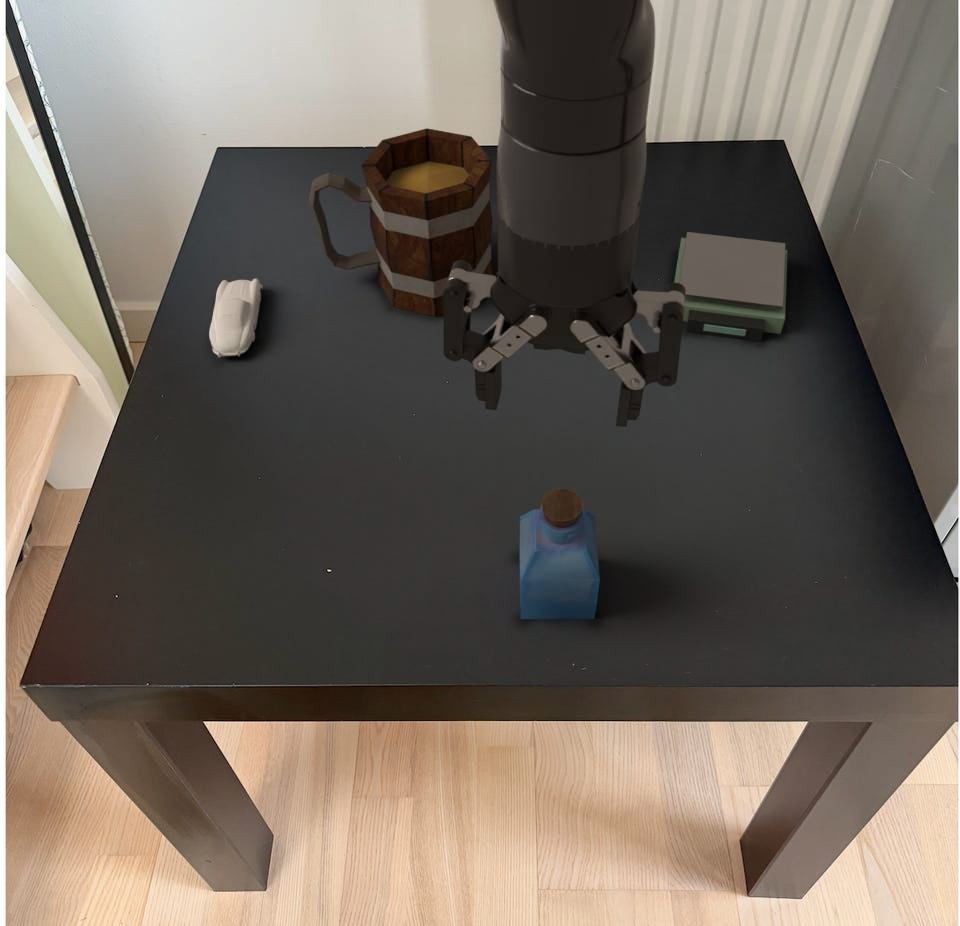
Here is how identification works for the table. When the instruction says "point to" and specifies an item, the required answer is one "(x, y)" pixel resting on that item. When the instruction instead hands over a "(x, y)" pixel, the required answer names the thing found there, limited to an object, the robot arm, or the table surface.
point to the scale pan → (733, 270)
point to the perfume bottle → (558, 559)
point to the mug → (418, 214)
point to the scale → (730, 314)
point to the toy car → (235, 317)
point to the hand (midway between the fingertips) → (557, 408)
